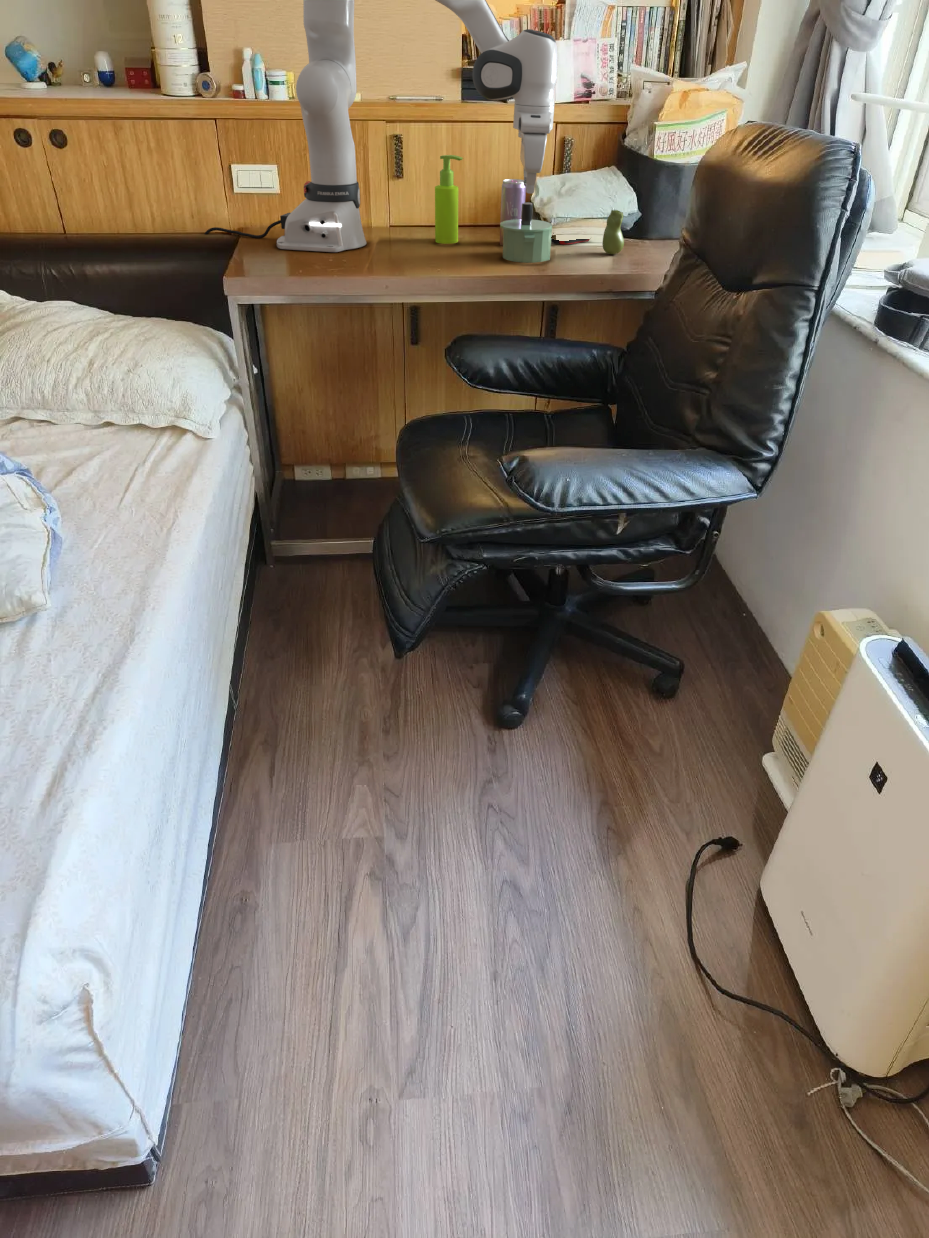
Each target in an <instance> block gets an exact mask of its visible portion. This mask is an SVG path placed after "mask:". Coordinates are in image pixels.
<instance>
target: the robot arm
mask: <svg viewBox="0 0 929 1238" xmlns="http://www.w3.org/2000/svg"><path fill="white" fill-rule="evenodd" d="M434 1H436V2H437V3H439V4H441V5H442V6H444V7H445V8H447V9H449V10H450V11H451V12H453V13H454V14H455V15H456V16H457V17H458V18H459V19H460V20H461V22H462V23H463V25H464V26H465V28H466V30H467V32H468V33H469V35H470V37H471V38H472V41H473V42H474V43H475V46H476V47H477V49H478V50H479V51H478V52H480V54H479V55H478V56H477V58H476V59H475V61H474V64H473V67H472V76H471V77H472V83H473V85H474V89H475V90H476V91H477V93H478V94H479V95H480V96H481V97H483V98H484V99H487V100H490V101H503V100H507V101H511V100H514V105H513V106H514V107H513V123H512V124H513V125H512V128H513V129H514V130H518V133H517V136H518V138H520V154H519V160H520V162H521V164H522V165H521V166H522V167H523V180H524V182H523V184H524V186H526V194H534V193H535V186H536V180H537V174H540V173H541V172H542V169H543V165H544V161H545V153H546V147H547V141H548V140H547V139H548V135H549V134H550V133H551V131H552V130H553V129H554V128H553V127H554V116H555V105H556V102H555V95H554V93H555V88H556V85H557V80H558V79H557V77H558V65H559V64H558V61H559V60H558V59H559V52H558V43H557V40H556V39H555V38H554V36H552V35H551V34H549V33H547V32H543V31H540V30H534V29H531V28H529V29H527V28H526V29H523V30H522V31H521V32H520V33H519V34H517V36H515V37H514V38H511V39H509V38H508V37H507V36H506V34H505V32H504V31H503V29H502V28H501V25H500V23H499V21H498V20H497V18H496V15H495V14H494V13H493V11H492V9H491V6H490V5H489V4H488V1H487V0H434ZM302 8H303V12H302V13H303V15H302V17H303V28H304V32H305V37H306V45H307V53H308V64H306V65H305V66H304V67H303V68H302V69H301V71H300V73H299V75H298V77H297V81H296V84H295V93H296V97H297V100H298V102H299V107H300V112H301V117H302V123H303V127H304V131H305V136H306V141H307V147H308V148H307V149H308V159H309V169H310V178H311V179H310V180H307V181H305V183H304V184H303V196H304V198H305V199H304V200H302V201H301V202H300V204H298V205H297V206H296V207H295V208H294V209H293V210H292V211H291V212H287V213H284V214H282V215H281V214H280V216H279V218H280V219H279V220H276V221H274V222H272V223H270V224H269V225H268V226H267V227H266V230H265V231H264V232H263V233H262V234H257V235H256V234H252V233H247V232H243V231H238V230H233V229H232V230H231V229H227V228H224V227H211V228H209V229H206V231H205V232H204V235H209V234H210V233H211V232H214V231H220V232H224V233H229V234H232V235H233V234H234V235H237V236H242V237H247V238H251V239H263V238H265V237H266V236H268V234H269V232H270V231H271V229H272V228H274V227H275V226H278V225H280V227H281V230H284V235H281V236H280V237H278V238H277V239H276V247H277V248H278V249H280V250H293V251H307V252H309V251H310V252H324V253H325V252H326V253H338V252H339V253H340V252H343V251H346V250H348V251H349V250H355V249H358V248H362V247H365V246H366V245H367V243H368V242H367V239H366V236H365V233H364V229H363V224H362V219H361V218H362V217H361V212H360V211H361V210H360V207H361V192H360V191H361V190H360V185H359V183H360V182H358V178H357V177H358V176H357V161H356V160H357V159H356V144H355V142H354V137H353V133H352V128H351V127H352V126H351V120H350V115H349V109H350V108H351V107H352V105H353V103H354V102H355V100H356V96H357V92H358V91H357V90H358V86H357V85H358V84H357V62H356V47H355V27H354V26H355V0H303V7H302Z"/></svg>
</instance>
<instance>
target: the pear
mask: <svg viewBox="0 0 929 1238" xmlns="http://www.w3.org/2000/svg"><path fill="white" fill-rule="evenodd" d="M623 220H624V212H622V211H620V210H618V209H611V211H610V214H609V215H608V217H607V218H606V226H605V229H604V230H603V235H602V236H603V237H602V245H601V246H602V249H603V251H604V252H605V253H606V254H608V255H617V254H619V253H620V252H622V251H623V249H624V245H625V239H624V236H623V232H622V229H621V226H622V223H623Z"/></svg>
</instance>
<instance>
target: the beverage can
mask: <svg viewBox="0 0 929 1238" xmlns="http://www.w3.org/2000/svg"><path fill="white" fill-rule="evenodd" d="M523 182H524V179H521V178H520V179H519V178H506V179H503V180H502V183H501V193H500V194H501V196H500V197H501V198H500V220H499V224H500V223H501V222H503V221H507V220H515V219H521V211H522V203H525V202H526V195H527V192H526V186H524V184H523ZM499 245H500V246H503V228H501V227H500V226H499Z"/></svg>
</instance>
